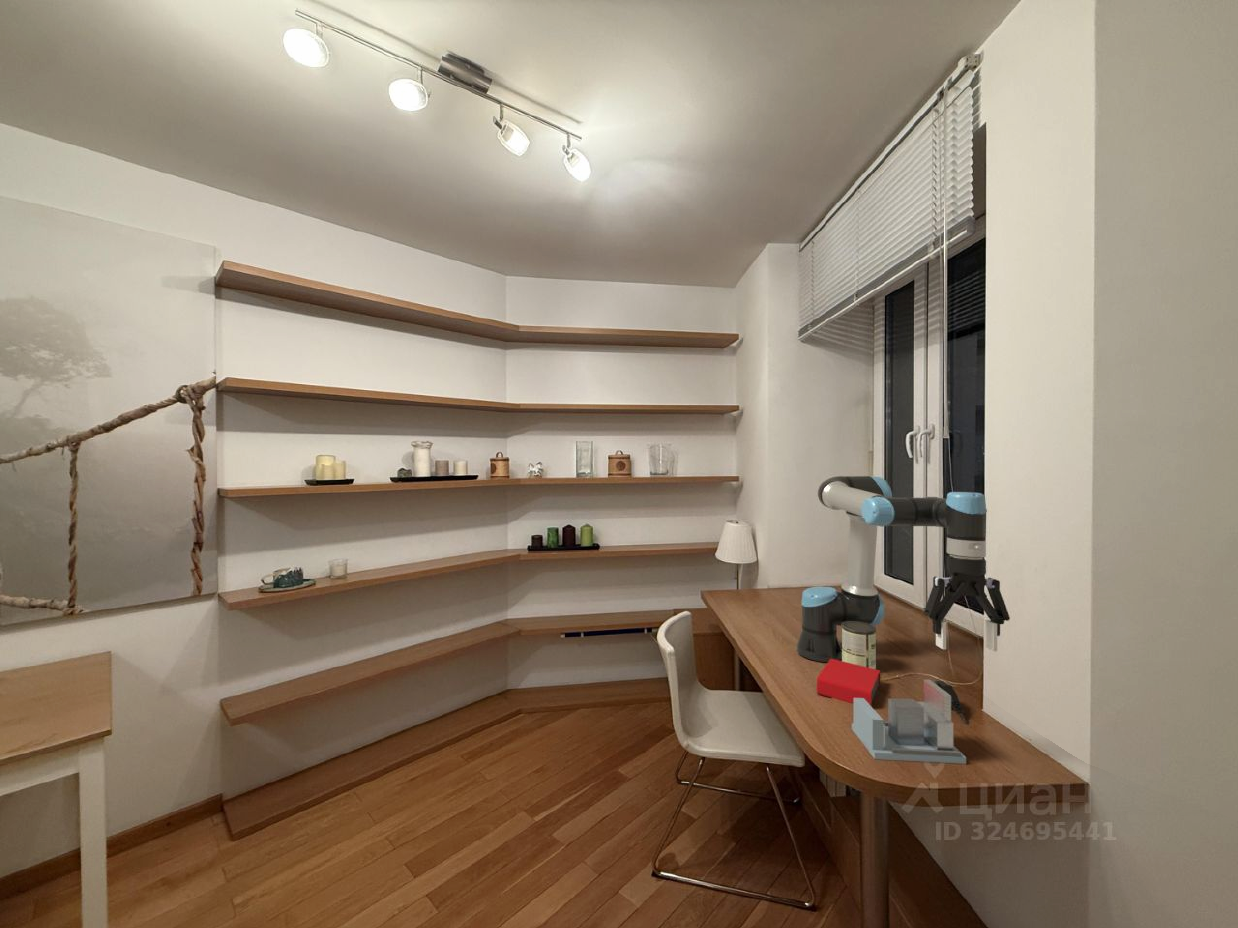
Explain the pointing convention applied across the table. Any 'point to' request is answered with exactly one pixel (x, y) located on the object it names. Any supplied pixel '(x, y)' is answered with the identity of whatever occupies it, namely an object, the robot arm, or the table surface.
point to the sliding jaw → (937, 717)
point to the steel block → (906, 721)
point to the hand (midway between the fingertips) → (966, 648)
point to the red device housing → (848, 681)
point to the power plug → (952, 698)
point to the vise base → (885, 748)
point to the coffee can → (859, 643)
